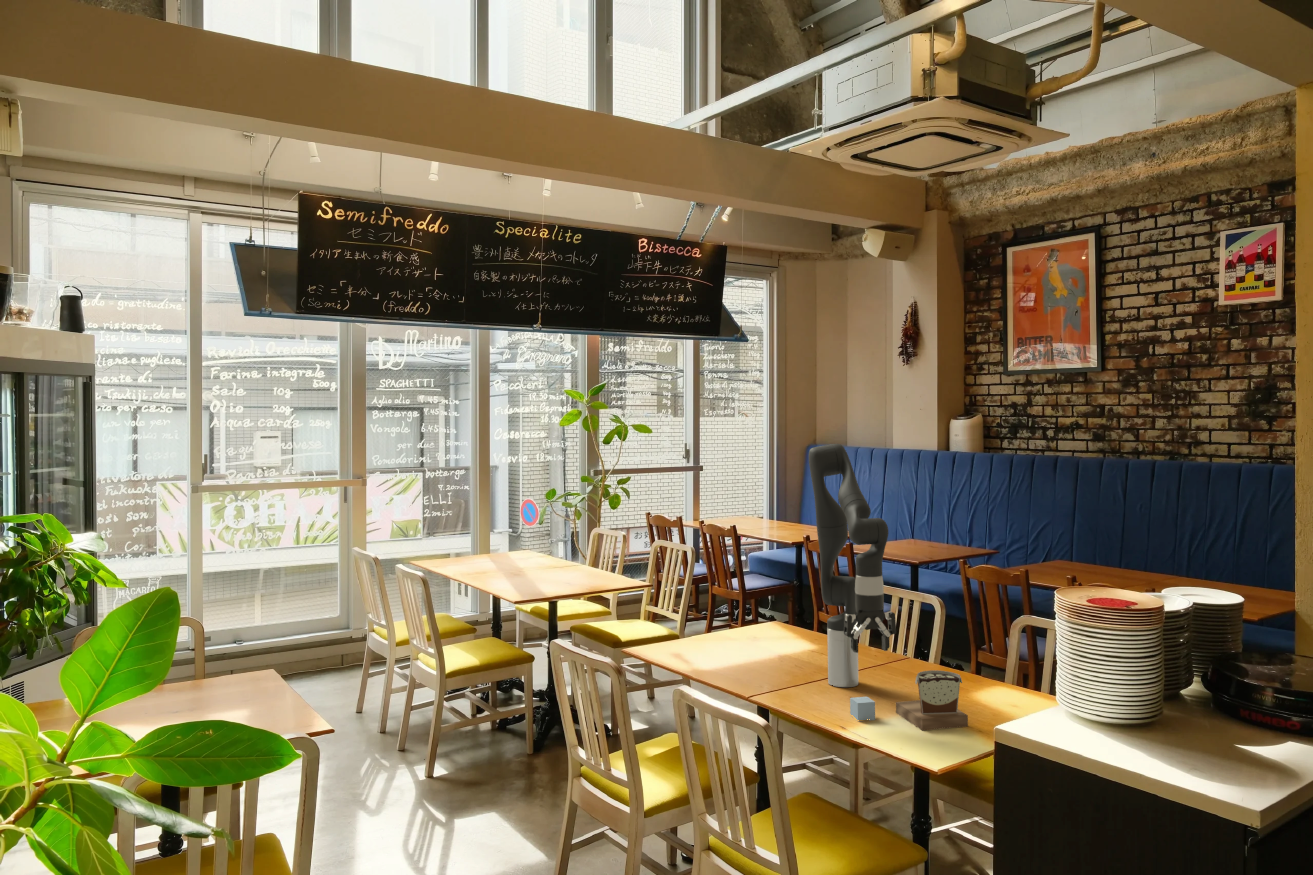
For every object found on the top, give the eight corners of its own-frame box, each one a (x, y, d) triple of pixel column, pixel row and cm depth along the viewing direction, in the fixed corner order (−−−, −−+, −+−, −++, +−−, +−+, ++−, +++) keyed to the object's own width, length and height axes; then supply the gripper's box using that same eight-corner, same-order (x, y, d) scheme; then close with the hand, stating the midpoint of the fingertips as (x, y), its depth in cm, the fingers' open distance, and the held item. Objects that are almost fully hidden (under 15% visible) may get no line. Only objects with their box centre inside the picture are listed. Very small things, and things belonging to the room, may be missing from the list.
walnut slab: (895, 712, 245) (895, 702, 245) (939, 709, 248) (938, 698, 248) (922, 730, 231) (922, 718, 231) (968, 726, 233) (967, 715, 233)
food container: (953, 705, 241) (953, 669, 241) (962, 712, 235) (962, 675, 235) (909, 707, 241) (908, 670, 241) (916, 714, 234) (916, 676, 234)
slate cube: (850, 715, 244) (850, 697, 244) (867, 714, 245) (867, 696, 245) (857, 721, 239) (857, 703, 239) (875, 720, 240) (875, 701, 240)
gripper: (850, 595, 236) (851, 656, 237) (900, 592, 239) (900, 652, 239) (839, 590, 244) (840, 649, 244) (887, 587, 247) (888, 646, 247)
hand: (870, 651), depth 242 cm, fingers open, 8 cm apart
